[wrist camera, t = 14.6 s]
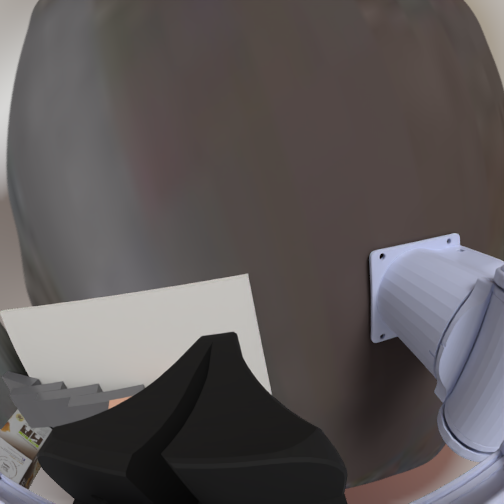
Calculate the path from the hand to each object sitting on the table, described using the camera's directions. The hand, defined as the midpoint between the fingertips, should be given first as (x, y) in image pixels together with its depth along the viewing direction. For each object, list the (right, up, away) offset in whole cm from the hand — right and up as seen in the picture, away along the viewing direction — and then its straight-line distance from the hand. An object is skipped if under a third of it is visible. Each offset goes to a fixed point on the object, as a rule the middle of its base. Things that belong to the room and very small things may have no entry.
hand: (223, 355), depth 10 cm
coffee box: (-32, -23, +15) cm, 42 cm away
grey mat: (-12, -8, +12) cm, 18 cm away
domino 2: (-18, -12, +11) cm, 25 cm away
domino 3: (-13, -11, +11) cm, 20 cm away
